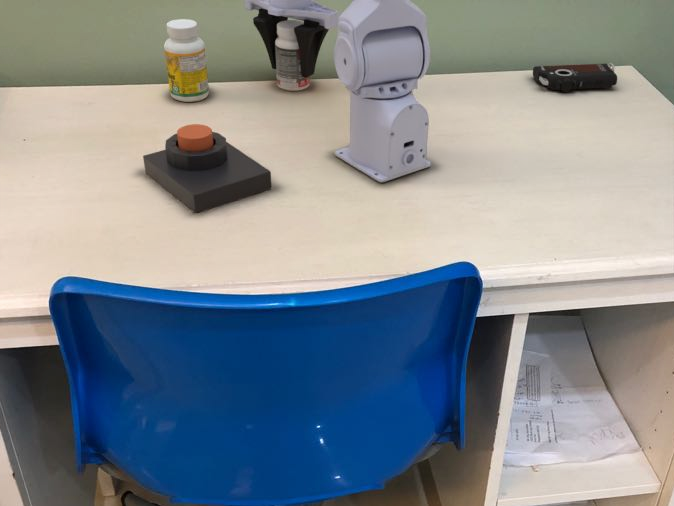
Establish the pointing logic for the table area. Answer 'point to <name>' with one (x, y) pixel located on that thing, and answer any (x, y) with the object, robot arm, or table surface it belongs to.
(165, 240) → the table surface
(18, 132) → the table surface
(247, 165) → the block
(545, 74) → the camera
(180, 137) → the orange push button
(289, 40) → the pill bottle
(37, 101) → the table surface
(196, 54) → the supplement bottle
